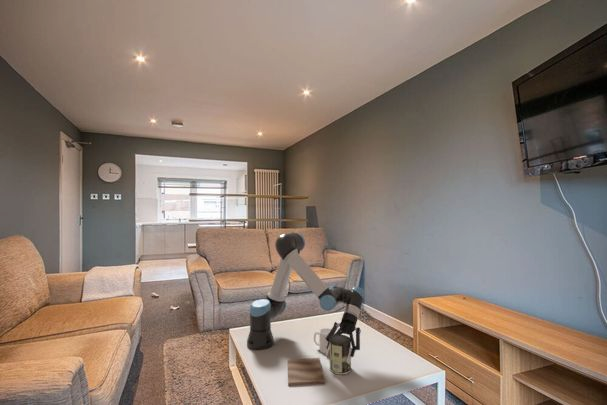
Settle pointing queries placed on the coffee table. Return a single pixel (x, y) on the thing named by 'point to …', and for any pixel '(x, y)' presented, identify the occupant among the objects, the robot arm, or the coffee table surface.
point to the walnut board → (305, 371)
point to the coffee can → (339, 354)
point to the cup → (322, 339)
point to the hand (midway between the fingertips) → (337, 360)
